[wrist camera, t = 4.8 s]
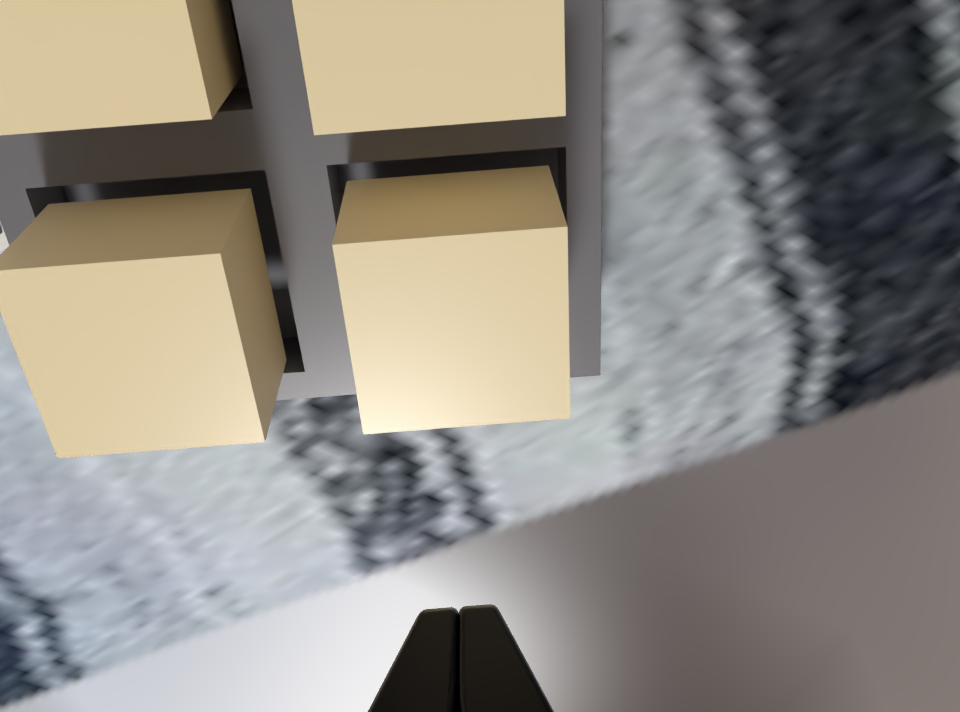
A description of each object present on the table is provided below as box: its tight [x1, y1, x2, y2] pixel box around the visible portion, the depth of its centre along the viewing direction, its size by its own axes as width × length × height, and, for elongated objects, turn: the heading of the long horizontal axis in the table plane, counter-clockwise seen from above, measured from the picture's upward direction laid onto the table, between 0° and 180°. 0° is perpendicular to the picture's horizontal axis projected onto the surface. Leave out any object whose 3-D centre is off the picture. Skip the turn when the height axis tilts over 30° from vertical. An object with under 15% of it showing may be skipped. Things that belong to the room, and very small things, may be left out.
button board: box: [0, 0, 603, 400], centre depth 18 cm, size 12×12×2 cm
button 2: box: [0, 188, 287, 458], centre depth 18 cm, size 4×4×3 cm
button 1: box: [332, 165, 570, 434], centre depth 18 cm, size 4×4×3 cm
